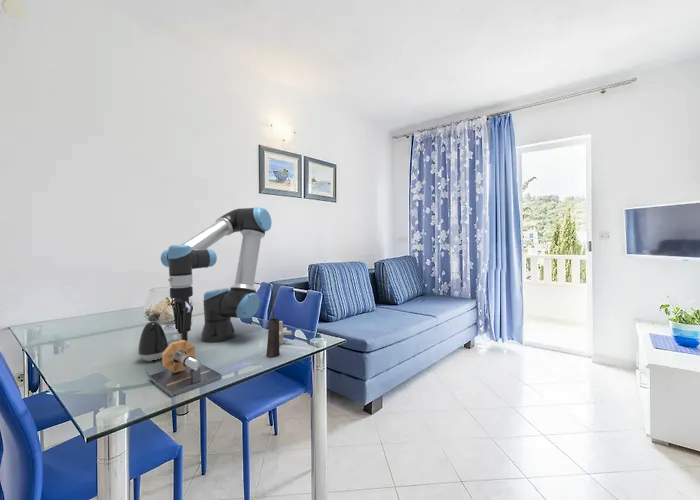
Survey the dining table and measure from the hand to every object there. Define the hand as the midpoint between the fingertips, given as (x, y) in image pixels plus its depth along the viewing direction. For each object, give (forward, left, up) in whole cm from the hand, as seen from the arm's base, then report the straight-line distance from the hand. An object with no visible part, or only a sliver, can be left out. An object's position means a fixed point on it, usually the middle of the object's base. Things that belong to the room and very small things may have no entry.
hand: (183, 349), depth 120 cm
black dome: (-18, -4, -7) cm, 20 cm away
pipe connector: (+8, +39, -7) cm, 40 cm away
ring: (+7, -4, -5) cm, 10 cm away
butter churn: (+18, +28, -7) cm, 34 cm away
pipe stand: (+11, -4, -7) cm, 14 cm away
